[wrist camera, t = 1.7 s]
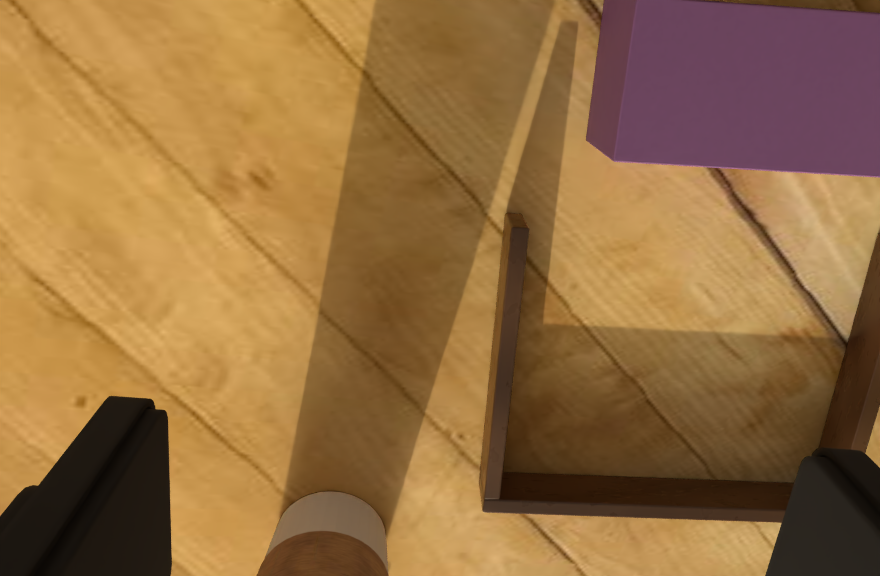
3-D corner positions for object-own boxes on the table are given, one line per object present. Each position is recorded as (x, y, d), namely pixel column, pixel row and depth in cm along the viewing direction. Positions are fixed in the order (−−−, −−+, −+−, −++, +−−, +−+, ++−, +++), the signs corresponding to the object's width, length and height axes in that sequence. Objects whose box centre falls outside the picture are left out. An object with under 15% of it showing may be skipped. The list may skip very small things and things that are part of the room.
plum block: (603, -3, 32) (636, -5, 27) (879, 16, 32) (958, 18, 28) (585, 140, 34) (613, 162, 29) (844, 156, 34) (912, 179, 30)
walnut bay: (504, 212, 35) (511, 227, 32) (893, 233, 36) (927, 249, 33) (478, 483, 40) (482, 513, 38) (819, 495, 41) (844, 525, 39)
